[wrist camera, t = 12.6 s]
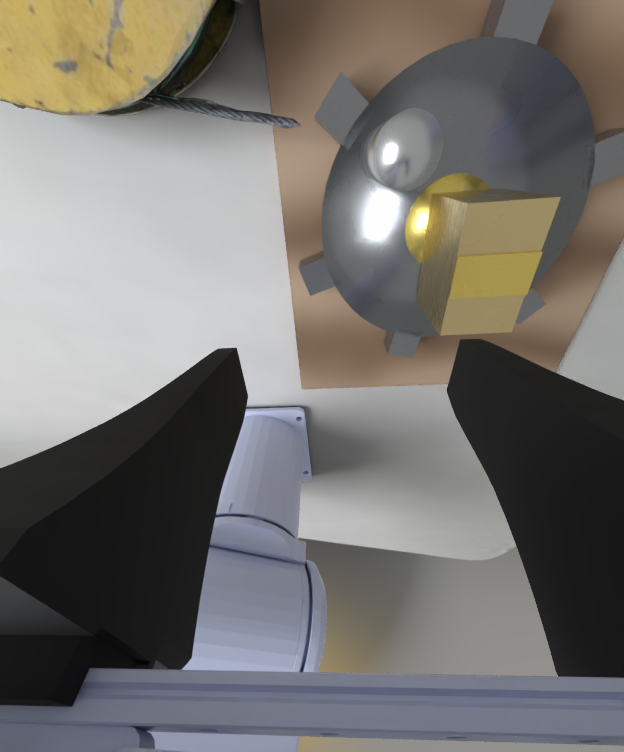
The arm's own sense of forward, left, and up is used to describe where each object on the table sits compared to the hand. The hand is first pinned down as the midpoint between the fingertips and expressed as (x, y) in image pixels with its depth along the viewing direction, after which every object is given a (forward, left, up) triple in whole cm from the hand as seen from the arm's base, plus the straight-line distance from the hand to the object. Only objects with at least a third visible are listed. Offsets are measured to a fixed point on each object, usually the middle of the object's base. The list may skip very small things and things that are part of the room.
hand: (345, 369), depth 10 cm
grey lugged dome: (+3, -5, -9) cm, 11 cm away
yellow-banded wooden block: (+2, -6, -7) cm, 10 cm away
